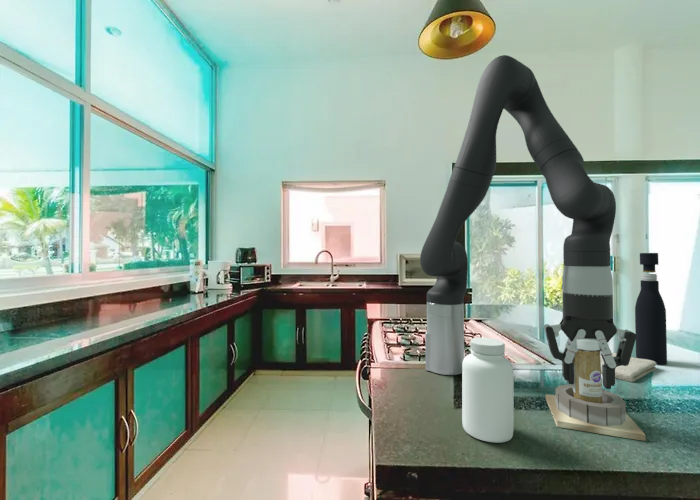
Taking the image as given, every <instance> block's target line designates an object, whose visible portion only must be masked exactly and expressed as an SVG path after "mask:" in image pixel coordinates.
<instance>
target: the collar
mask: <svg viewBox="0 0 700 500" xmlns="http://www.w3.org/2000/svg"><path fill="white" fill-rule="evenodd" d="M545 401H546V403H547V405H548V408H549V411H550V410H551V411H550V412H551V416H552V415H553V416H552V418H553V420H554V423H555V425H556V427H558V428H561V429H562V428H564V429H567V430H568V429H570V430H575V431H581V432H585V433H586V432H588V433H594V434H600V435H606V436H612V437H619V438H624V439H630V440H636V441H643V442H646V434H645V433H644V432H643V430H642V429H641V428H640V427H639V426H638V425H637V423H636V422H635V421H634V420H633V419H632V418H631V417H630V416H629V415H628V414H627V411H626V406H627V404H626V401H625V400H624V399H623V398H622V397H621V396H620V395H618V394H616V393H613V392H611V391H608V390H607V389H602V404H599V403H592V402H586V401H583V400H579V399H576V398H574V393H573V384H561V385H558V386H557V387H555V395H554V394H547V393H545Z"/></svg>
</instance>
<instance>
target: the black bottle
mask: <svg viewBox="0 0 700 500" xmlns="http://www.w3.org/2000/svg"><path fill="white" fill-rule="evenodd" d="M639 265H642V274H641V280H640V291H639V293H638V296H637V298H636V302H635V306H634V315H635V316H634V320H635V321H634V322H635V326H634V327H635V328H634V329H635V334H636V340H635V358H639V359H647V360H652V361H655V362H656V363H657V365H656V366H665V365H668V345H667V344H668V343H667V341H668V339H667V310H666V306H665V302H664V300H663V297H662V294H661V293H660V291H659V289H660V287H659V283H660V282H659V280H658V278H657V277H658V275H657V273H656V266H658V265H659V253H658V252H640V253H639Z"/></svg>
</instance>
